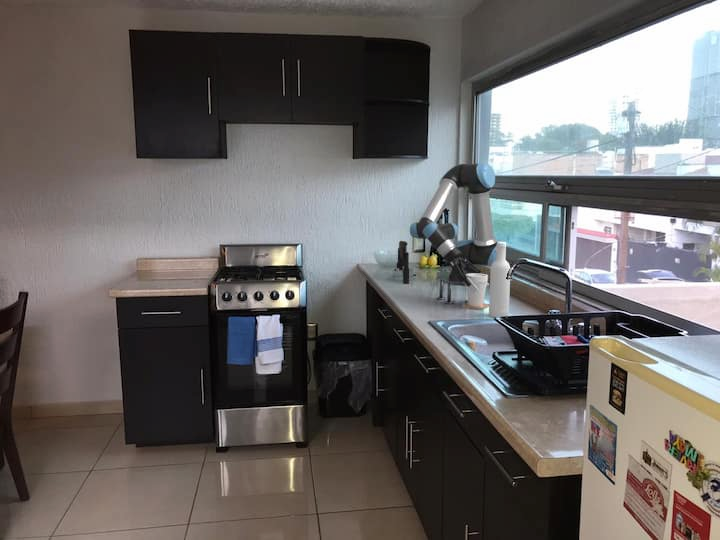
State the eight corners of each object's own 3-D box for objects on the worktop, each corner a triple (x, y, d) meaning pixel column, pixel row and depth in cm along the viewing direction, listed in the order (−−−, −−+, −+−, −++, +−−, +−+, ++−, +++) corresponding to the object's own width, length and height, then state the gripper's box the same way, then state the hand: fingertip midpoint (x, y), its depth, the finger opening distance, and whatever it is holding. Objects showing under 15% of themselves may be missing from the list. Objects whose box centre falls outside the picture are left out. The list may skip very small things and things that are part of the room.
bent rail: (438, 297, 273) (439, 277, 272) (475, 301, 264) (476, 280, 262) (428, 301, 264) (429, 280, 262) (466, 306, 254) (466, 284, 253)
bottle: (505, 313, 240) (508, 241, 236) (511, 318, 233) (514, 243, 228) (486, 313, 240) (489, 241, 236) (491, 318, 232) (494, 243, 228)
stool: (389, 245, 303) (387, 239, 336) (388, 285, 306) (387, 275, 339) (419, 245, 303) (414, 239, 336) (418, 285, 306) (414, 275, 339)
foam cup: (488, 303, 255) (490, 274, 253) (483, 307, 247) (485, 277, 245) (467, 301, 259) (468, 272, 257) (461, 305, 251) (463, 275, 249)
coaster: (469, 304, 259) (469, 301, 259) (489, 306, 255) (489, 304, 255) (462, 307, 252) (462, 305, 252) (482, 310, 247) (482, 307, 247)
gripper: (455, 254, 269) (485, 289, 263) (432, 260, 248) (464, 299, 242) (466, 243, 265) (497, 279, 260) (444, 249, 244) (477, 287, 239)
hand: (481, 288), depth 251 cm, fingers open, 13 cm apart
